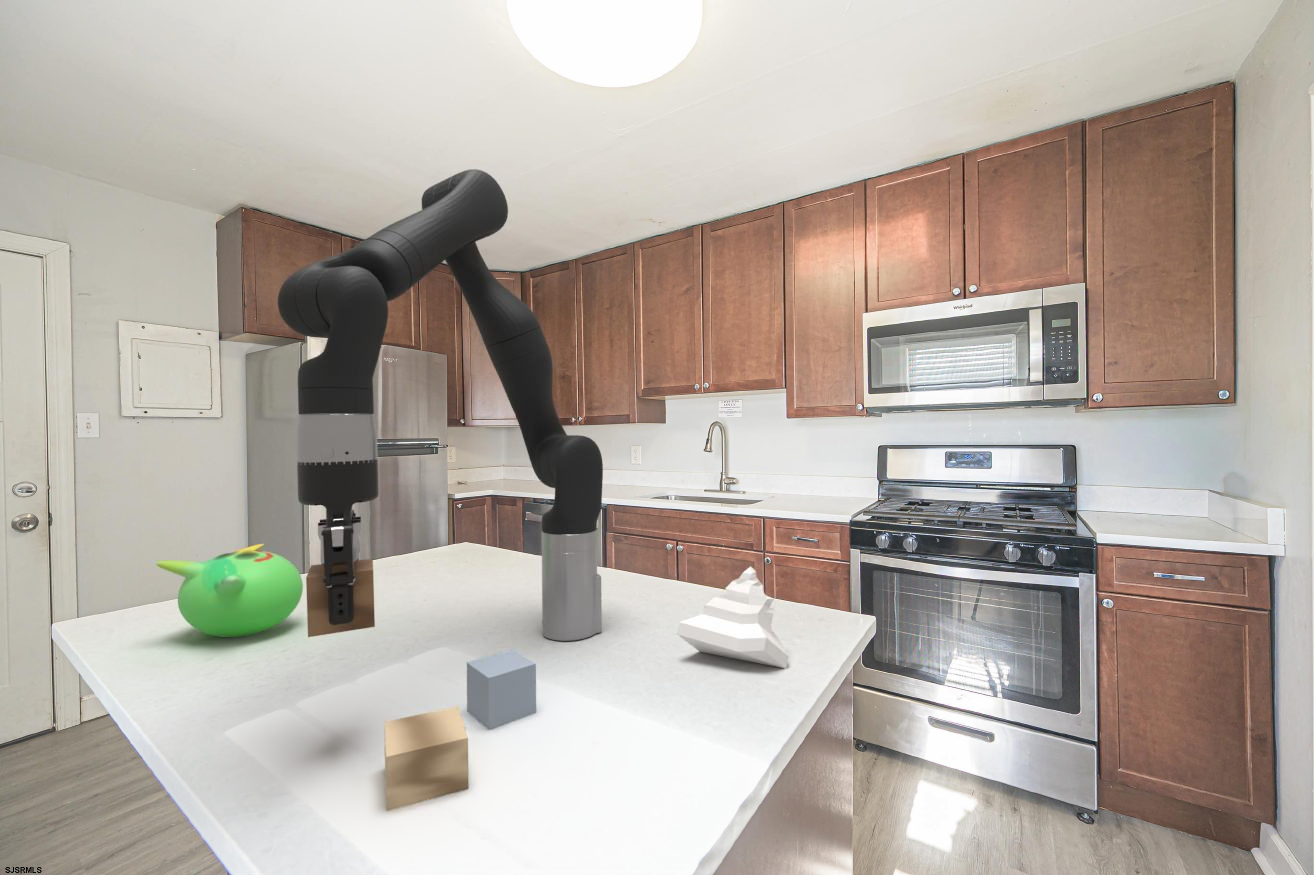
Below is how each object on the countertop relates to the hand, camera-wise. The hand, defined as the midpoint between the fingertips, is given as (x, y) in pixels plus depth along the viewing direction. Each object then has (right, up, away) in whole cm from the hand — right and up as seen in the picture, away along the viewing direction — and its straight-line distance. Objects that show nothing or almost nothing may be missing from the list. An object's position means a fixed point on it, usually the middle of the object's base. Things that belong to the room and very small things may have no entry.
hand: (342, 613), depth 61 cm
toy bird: (-37, -15, +36) cm, 53 cm away
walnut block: (0, -1, 0) cm, 1 cm away
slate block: (+15, -14, +8) cm, 22 cm away
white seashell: (+46, -14, +24) cm, 54 cm away
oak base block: (+11, -15, -6) cm, 19 cm away
